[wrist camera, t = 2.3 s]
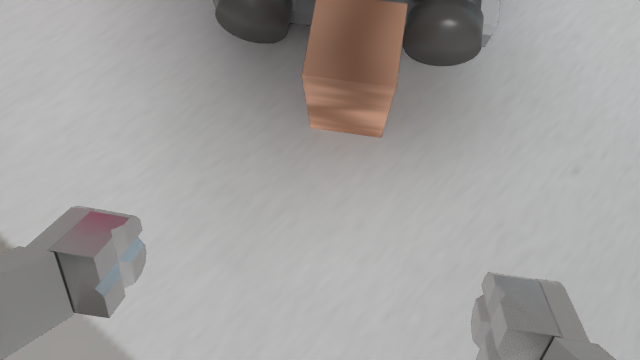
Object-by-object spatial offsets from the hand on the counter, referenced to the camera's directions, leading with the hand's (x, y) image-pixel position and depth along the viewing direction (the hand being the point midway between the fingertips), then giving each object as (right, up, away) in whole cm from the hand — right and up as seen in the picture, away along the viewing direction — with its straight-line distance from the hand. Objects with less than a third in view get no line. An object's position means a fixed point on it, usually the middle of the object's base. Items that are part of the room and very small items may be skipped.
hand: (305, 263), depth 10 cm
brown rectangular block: (+3, +8, +21) cm, 22 cm away
